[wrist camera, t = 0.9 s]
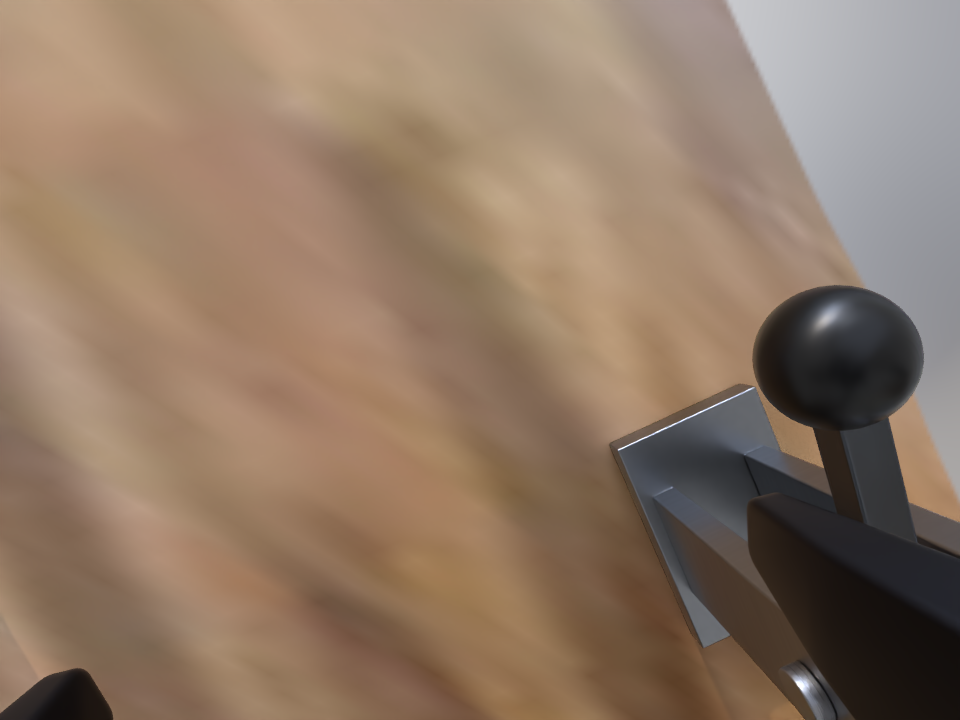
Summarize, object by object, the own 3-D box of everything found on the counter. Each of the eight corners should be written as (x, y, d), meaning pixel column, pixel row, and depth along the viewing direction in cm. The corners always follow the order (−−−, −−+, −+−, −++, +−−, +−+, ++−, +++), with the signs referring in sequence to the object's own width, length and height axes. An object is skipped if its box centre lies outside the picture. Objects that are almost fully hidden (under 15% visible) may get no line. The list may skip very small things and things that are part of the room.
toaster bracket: (608, 443, 23) (772, 569, 12) (740, 382, 24) (1032, 447, 12) (690, 633, 24) (920, 928, 13) (817, 573, 24) (1161, 810, 13)
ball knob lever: (709, 311, 13) (798, 337, 10) (828, 257, 13) (950, 267, 10) (822, 669, 16) (916, 769, 13) (918, 622, 16) (1034, 712, 13)
